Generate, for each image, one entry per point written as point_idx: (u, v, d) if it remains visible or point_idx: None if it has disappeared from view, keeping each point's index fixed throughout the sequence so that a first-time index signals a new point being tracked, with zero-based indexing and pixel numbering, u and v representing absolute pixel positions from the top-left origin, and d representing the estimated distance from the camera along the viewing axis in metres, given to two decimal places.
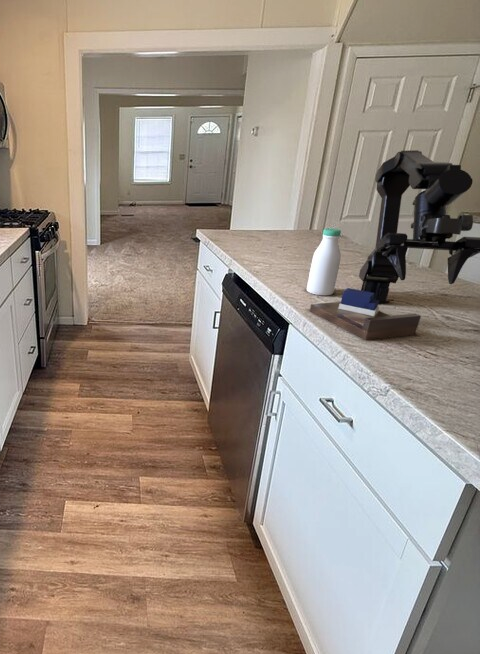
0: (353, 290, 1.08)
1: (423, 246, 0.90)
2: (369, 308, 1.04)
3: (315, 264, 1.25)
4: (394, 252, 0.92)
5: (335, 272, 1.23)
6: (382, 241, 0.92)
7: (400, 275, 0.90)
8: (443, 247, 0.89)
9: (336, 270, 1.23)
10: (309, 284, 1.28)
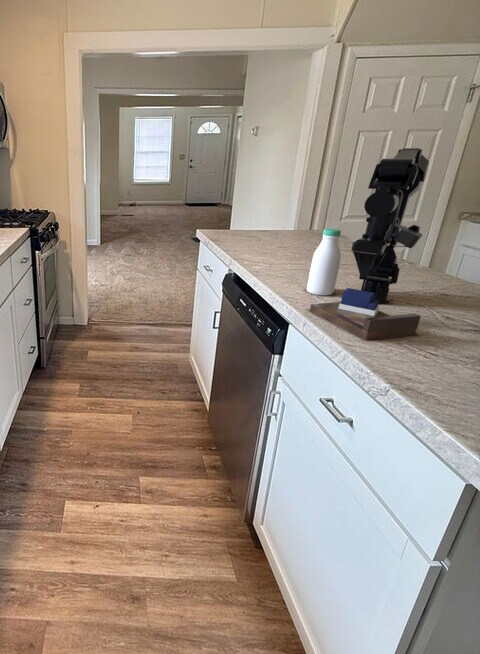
0: (353, 290, 1.08)
1: None
2: (369, 308, 1.04)
3: (315, 264, 1.25)
4: None
5: (335, 272, 1.23)
6: (369, 247, 0.94)
7: (363, 274, 1.00)
8: None
9: (336, 270, 1.23)
10: (309, 284, 1.28)
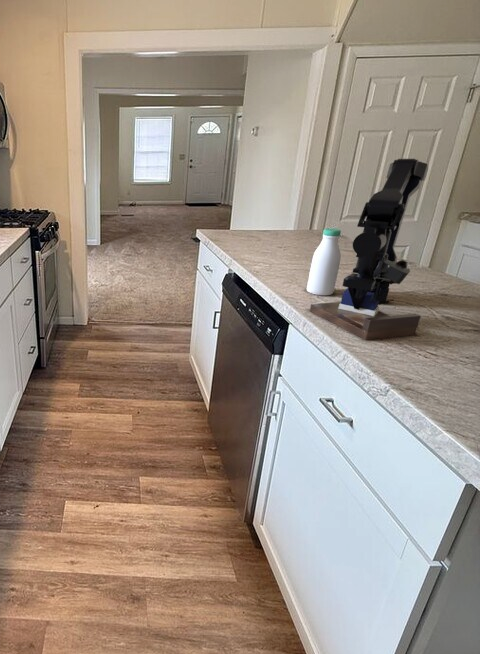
0: None
1: None
2: (369, 308, 1.04)
3: (315, 264, 1.25)
4: None
5: (335, 272, 1.23)
6: (359, 284, 0.98)
7: (356, 305, 1.06)
8: None
9: (336, 270, 1.23)
10: (309, 284, 1.28)
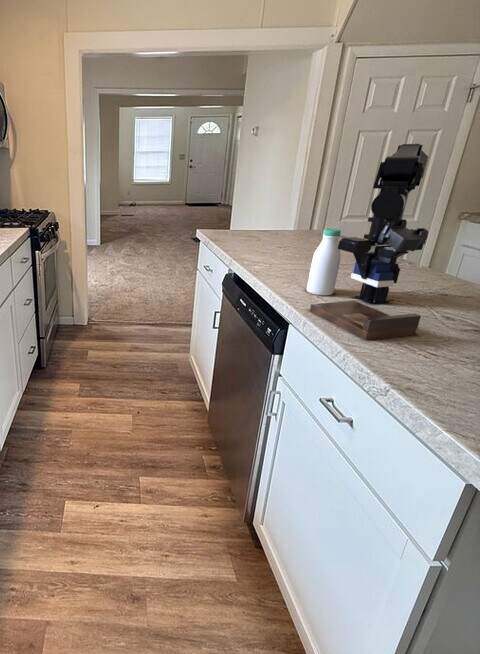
0: None
1: (377, 246, 0.96)
2: (374, 278, 0.97)
3: (315, 264, 1.25)
4: None
5: (335, 272, 1.23)
6: (348, 246, 0.94)
7: (362, 274, 0.99)
8: (390, 245, 0.97)
9: (336, 270, 1.23)
10: (309, 284, 1.28)
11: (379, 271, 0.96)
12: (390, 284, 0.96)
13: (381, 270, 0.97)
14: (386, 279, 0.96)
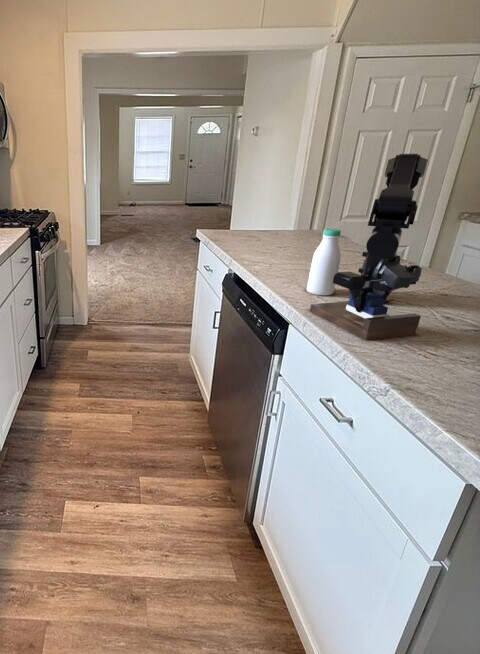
0: None
1: (371, 281, 0.97)
2: (369, 312, 0.98)
3: (315, 264, 1.25)
4: None
5: (335, 272, 1.23)
6: (343, 281, 0.95)
7: (357, 307, 1.00)
8: None
9: (336, 270, 1.23)
10: (309, 284, 1.28)
11: (373, 305, 0.97)
12: None
13: (375, 304, 0.98)
14: (380, 313, 0.97)
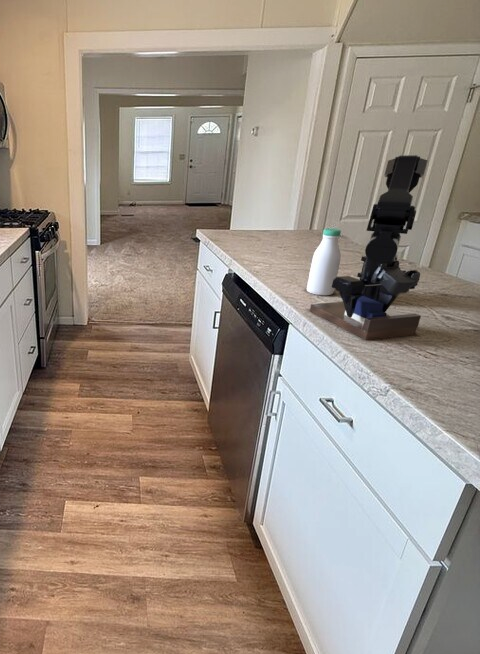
0: (363, 298, 1.02)
1: (370, 285, 0.98)
2: None
3: (315, 264, 1.25)
4: None
5: (335, 272, 1.23)
6: (342, 286, 0.96)
7: (348, 313, 1.00)
8: None
9: (336, 270, 1.23)
10: (309, 284, 1.28)
11: (372, 311, 0.98)
12: None
13: (374, 309, 0.98)
14: None
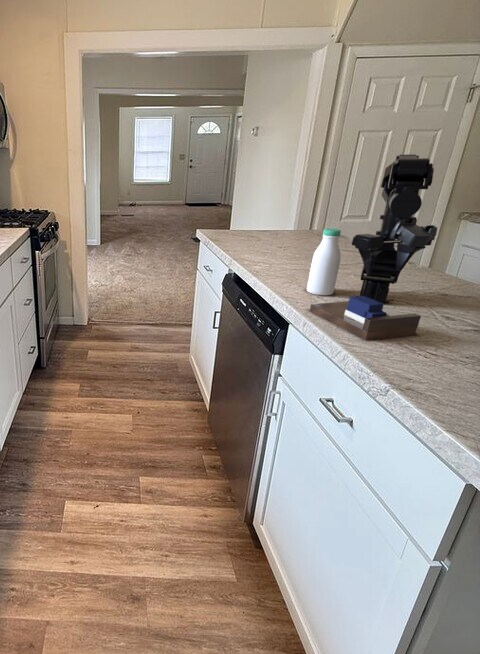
0: (363, 298, 1.02)
1: (388, 242, 1.03)
2: None
3: (315, 264, 1.25)
4: None
5: (335, 272, 1.23)
6: (362, 242, 1.01)
7: (367, 269, 1.05)
8: (401, 241, 1.03)
9: (336, 270, 1.23)
10: (309, 284, 1.28)
11: (372, 311, 0.98)
12: None
13: (374, 309, 0.98)
14: None
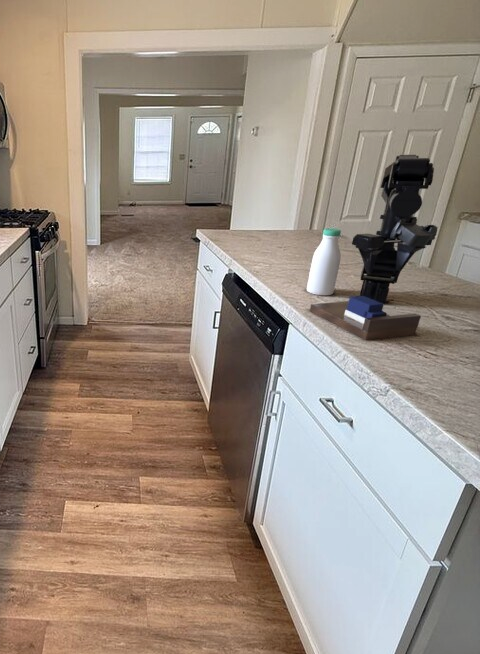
0: (363, 298, 1.02)
1: (389, 242, 1.03)
2: None
3: (315, 264, 1.25)
4: None
5: (335, 272, 1.23)
6: (362, 242, 1.01)
7: (367, 269, 1.05)
8: (401, 241, 1.03)
9: (336, 270, 1.23)
10: (309, 284, 1.28)
11: (372, 311, 0.98)
12: None
13: (374, 309, 0.98)
14: None
